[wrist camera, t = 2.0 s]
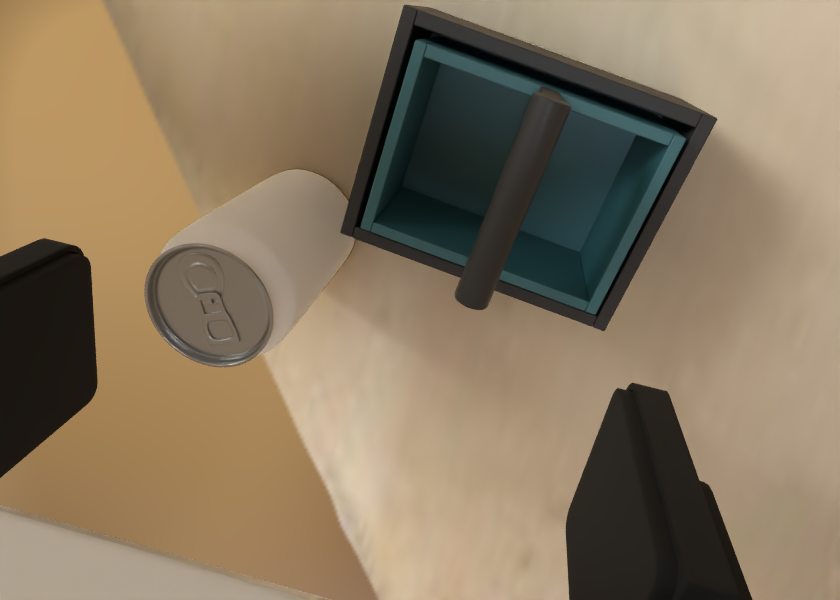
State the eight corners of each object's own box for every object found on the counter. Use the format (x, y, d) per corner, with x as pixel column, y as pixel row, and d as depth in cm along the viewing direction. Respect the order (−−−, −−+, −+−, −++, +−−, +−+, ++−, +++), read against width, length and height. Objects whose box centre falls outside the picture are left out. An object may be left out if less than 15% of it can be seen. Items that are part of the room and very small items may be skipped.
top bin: (391, 189, 34) (334, 258, 24) (439, 35, 30) (395, 42, 21) (583, 260, 34) (604, 358, 24) (655, 113, 30) (713, 159, 20)
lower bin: (372, 197, 35) (339, 233, 29) (429, 7, 30) (403, 3, 24) (592, 278, 35) (604, 331, 29) (681, 99, 30) (718, 118, 24)
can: (343, 158, 34) (255, 222, 23) (369, 266, 37) (301, 369, 26) (238, 177, 36) (110, 245, 25) (270, 279, 38) (166, 382, 27)
